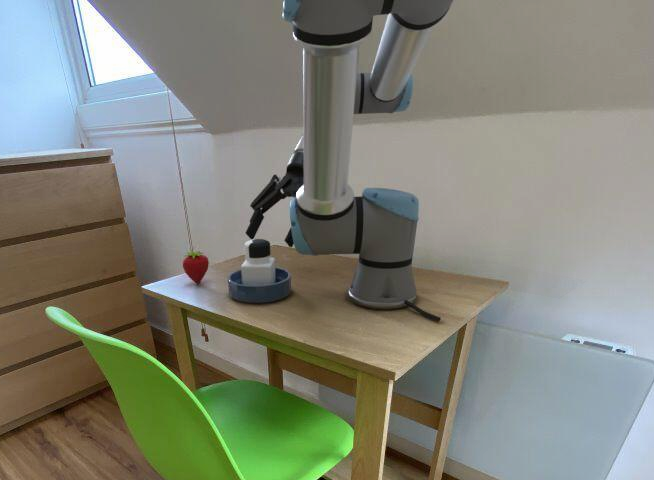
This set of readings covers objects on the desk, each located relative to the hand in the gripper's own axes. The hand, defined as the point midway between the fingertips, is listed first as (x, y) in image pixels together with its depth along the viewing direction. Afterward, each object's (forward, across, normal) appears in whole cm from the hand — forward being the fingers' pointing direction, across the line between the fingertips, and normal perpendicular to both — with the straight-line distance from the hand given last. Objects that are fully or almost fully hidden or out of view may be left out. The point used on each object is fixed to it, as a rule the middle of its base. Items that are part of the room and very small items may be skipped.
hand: (268, 240), depth 104 cm
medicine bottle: (+11, 0, -5) cm, 12 cm away
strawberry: (+15, +18, -3) cm, 23 cm away
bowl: (+12, -1, -5) cm, 13 cm away
